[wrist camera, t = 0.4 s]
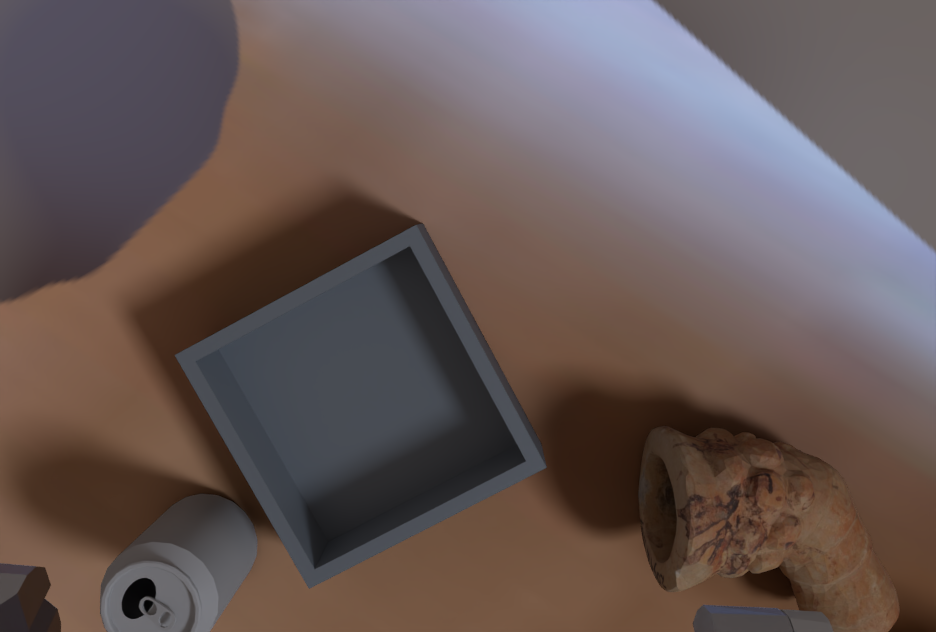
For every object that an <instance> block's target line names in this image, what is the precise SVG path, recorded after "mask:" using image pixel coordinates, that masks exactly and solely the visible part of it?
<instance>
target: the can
mask: <svg viewBox="0 0 936 632" xmlns="http://www.w3.org/2000/svg"><path fill="white" fill-rule="evenodd" d="M256 556H257V537H256V533H255V529H254V525H253V524H252V522H251V521H250V519H249V517H248V516H247V514H246V513H245V511H243V510H242V509H241V508H240V507H239V506H237V505H236V504H235V503H234V502H233V501H230V500H228V499H226V498H223V497H221V496H218V495H211V494H197V495H193V496H188V497H185V498H183V499H182V500H180V501H178V502H177V503H175V504H173V505H172V506H171V507H170V508H169V509H168V510H167V511H166V512H164V513H163V514H162V515H161V516H160V517H159V518H158V519H157V520H156V521H155V522H154V523H153V524H152V525H150V526H149V527H148V528H147V529H146V530H145V531H144V532H143V533H142V534H141V535H140V536H139V537H138V538H137V539H135V540H134V541H133V542H132V543H131V544H130V545H129V546H128V547H127V548H126V549H125V550H124V551H123V552H122V553H120V554H119V555H118V557H117V558H116V559H115V560H114V561H113V562H112V564H111V565H110V566H109V567H108V568H107V571H106V573H105V576H104V578H103V581H102V584H101V597H100V614H101V617H102V621H103V624H104V628H105V629H106V631H107V632H210V630H211V629H212V627H213V626H214V624H215V623H216V621H217V620H218V618H219V617H220V615H221V614H222V612H223V611H224V609H225V608H226V606H227V605H228V603H229V602H230V600H231V599H232V597H233V596H234V594H235V593H236V591H237V590H238V588H239V587H240V585H241V584H242V582H243V581H244V579H245V578H246V576H247V575H248V573H249V572H250V570H251V568H252V565H253V563H254V560H255V558H256Z"/></svg>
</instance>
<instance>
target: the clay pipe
mask: <svg viewBox="0 0 936 632" xmlns="http://www.w3.org/2000/svg"><path fill="white" fill-rule="evenodd" d="M638 498H639V513H640V522H641V531H642V538H643V542H644V547H645V550H646V554H647V558H648V562H649V564H650V567H651V569H652V571H653V574H654V576H655V578H656V580H657V581H658V583H659V585H660V586H661V587H662V588H663V589H664V590H666V591H668V592H677V591H683V590H686V589H688V588H690V587H693V586H695V585H697V584H699V583H701V582H703V581H705V580H707V579H708V578H710V577H712V576H713V575H715V574H718V575H720V576H721V577H728V578H735V577H739V576H743V575H744V574H745V573H746V572H748V571H751V572H752V573H762V572H765V571H769V570H772V569H774V568H777V567H778V566H779V568H780V570H781V571H782V573H783V574H784V575H785V576H786V577H787V578H789V579H790V582H791V586H792V589H793V593H794V596H795V598H796V601H797V605H798V608H799V611H816V612H822V613H823V614H824V615H825V616H826V617H827V618H828V619H829V621H830V624H831V626H832V629H833V631H834V632H888V631H889V630H890V629H891V628H892V626H893V625H894V624H895V622H896V621H897V619H898V617H899V612H900V609H899V601H898V597H897V592H896V590H895V587H894V585H893V583H892V581H891V579H890V577H889V575H888V573H887V571H886V569H885V568H884V566H883V564H882V563H881V561H880V560H879V558H878V557H877V555H876V553H875V552H874V550H873V549H872V545H873V544H872V540H871V537H870V534H869V533H868V531H867V530H866V528H865V526H864V524H863V522H862V520H861V518H860V516H859V514H858V511H857V509H856V507H855V504H854V502H853V499H852V497H851V494H850V492H849V489H848V487H847V485H846V483H845V481H844V479H843V477H842V476H841V475H840V474H839V473H838V471H837V470H836V469H834V468H833V467H832V466H830V465H829V464H827V463H826V462H824V461H822V460H821V459H819V458H817V457H814V456H811V455H808V454H805V453H803V452H801V451H800V450H798V449H796V448H794V447H793V446H791V445H788V444H786V443H783V442H774V443H772V442H771V441H768V440H765V439H761V438H758V439H756V437H755V435H753V434H751V433H749V432H741V433H739V434H737V435H735V436H733V435H732V434H731V433H730V432H729V431H727V430H725V429H723V428H714V427H712V428H708V429H706V430H705V431H703V432H702V433H700V434H699V435H697V436H696V437H692V436H689V435H686V434H684V433H682V432H679V431H677V430H675V429H672V428H670V427H668V426H661V427H657V428H654V429H652V430H651V431H650V433H649V435H648V437H647V439H646V442H645V445H644V450H643V455H642V461H641V469H640V479H639V492H638Z"/></svg>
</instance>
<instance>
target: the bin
mask: <svg viewBox="0 0 936 632" xmlns="http://www.w3.org/2000/svg"><path fill="white" fill-rule="evenodd" d="M175 357H176V358H177V360H178V362H179V364H180V365H181V367H182V369H183V371H184V372H185V374H186V376H187V378H188V379H189V381H190V383H191V385H192V386H193V388H194V390H195V391H196V393H197V395H198V397H199V398H200V400H201V402H202V404H203V405H204V407H205V409H206V411H207V412H208V414H209V416H210V418H211V419H212V421H213V423H214V424H215V426H216V428H217V430H218V431H219V433H220V435H221V437H222V438H223V440H224V442H225V444H226V445H227V447H228V449H229V451H230V452H231V454H232V456H233V457H234V459H235V461H236V463H237V464H238V466H239V468H240V470H241V471H242V473H243V475H244V477H245V478H246V480H247V482H248V484H249V485H250V487H251V489H252V490H253V492H254V494H255V496H256V497H257V499H258V501H259V503H260V504H261V506H262V508H263V510H264V511H265V513H266V515H267V517H268V518H269V520H270V522H271V523H272V525H273V527H274V529H275V530H276V532H277V534H278V536H279V537H280V539H281V541H282V543H283V544H284V546H285V548H286V550H287V551H288V553H289V555H290V556H291V558H292V560H293V562H294V563H295V565H296V567H297V569H298V570H299V572H300V574H301V576H302V577H303V579H304V581H305V583H306V584H307V586H308V588H311V587H313V586H315V585H317V584H319V583H321V582H323V581H325V580H327V579H329V578H331V577H333V576H335V575H337V574H339V573H341V572H343V571H345V570H347V569H349V568H351V567H353V566H355V565H356V564H358V563H360V562H362V561H364V560H366V559H368V558H370V557H372V556H374V555H376V554H378V553H380V552H382V551H384V550H386V549H388V548H390V547H392V546H394V545H396V544H398V543H400V542H402V541H404V540H406V539H407V538H409V537H411V536H413V535H415V534H417V533H419V532H421V531H423V530H425V529H427V528H429V527H431V526H433V525H435V524H437V523H439V522H441V521H443V520H445V519H447V518H449V517H451V516H453V515H455V514H457V513H458V512H460V511H462V510H464V509H466V508H468V507H470V506H472V505H474V504H476V503H478V502H480V501H482V500H484V499H486V498H488V497H490V496H492V495H494V494H496V493H498V492H500V491H502V490H504V489H506V488H507V487H509V486H511V485H513V484H515V483H517V482H519V481H521V480H523V479H525V478H527V477H529V476H531V475H533V474H535V473H537V472H539V471H541V470H543V469H545V468H547V467H546V462H545V458H544V454H543V449H542V445H541V442H540V440H539V439H538V437H537V435H536V433H535V431H534V429H533V427H532V426H531V424H530V422H529V420H528V418H527V416H526V414H525V412H524V411H523V409H522V407H521V405H520V403H519V401H518V399H517V398H516V396H515V394H514V392H513V390H512V388H511V386H510V385H509V383H508V381H507V379H506V377H505V375H504V373H503V371H502V370H501V368H500V366H499V364H498V362H497V360H496V358H495V357H494V355H493V353H492V351H491V349H490V347H489V345H488V344H487V342H486V340H485V338H484V336H483V334H482V332H481V331H480V329H479V327H478V325H477V323H476V321H475V319H474V317H473V316H472V314H471V312H470V310H469V308H468V306H467V304H466V303H465V301H464V299H463V297H462V295H461V293H460V291H459V290H458V288H457V286H456V284H455V282H454V280H453V278H452V277H451V275H450V273H449V271H448V269H447V267H446V265H445V263H444V262H443V260H442V258H441V256H440V254H439V252H438V250H437V249H436V247H435V245H434V243H433V241H432V239H431V237H430V236H429V234H428V232H427V230H426V228H425V226H424V224H418V225H415V226H413V227H411V228H409V229H407V230H406V231H404V232H402V233H400V234H398V235H396V236H394V237H393V238H391V239H389V240H387V241H385V242H383V243H381V244H380V245H378V246H376V247H374V248H372V249H370V250H368V251H367V252H365V253H363V254H361V255H359V256H357V257H356V258H354V259H352V260H350V261H348V262H346V263H344V264H343V265H341V266H339V267H337V268H335V269H333V270H331V271H330V272H328V273H326V274H324V275H322V276H320V277H318V278H317V279H315V280H313V281H311V282H309V283H307V284H306V285H304V286H302V287H300V288H298V289H296V290H294V291H293V292H291V293H289V294H287V295H285V296H283V297H281V298H280V299H278V300H276V301H274V302H272V303H270V304H268V305H267V306H265V307H263V308H261V309H259V310H257V311H256V312H254V313H252V314H250V315H248V316H246V317H244V318H243V319H241V320H239V321H237V322H235V323H233V324H231V325H230V326H228V327H226V328H224V329H222V330H220V331H218V332H217V333H215V334H213V335H211V336H209V337H207V338H206V339H204V340H202V341H200V342H198V343H196V344H194V345H193V346H191V347H189V348H187V349H185V350H183V351H181V352H180V353H178V354H176V355H175Z"/></svg>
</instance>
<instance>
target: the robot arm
mask: <svg viewBox="0 0 936 632" xmlns="http://www.w3.org/2000/svg"><path fill="white" fill-rule="evenodd" d="M50 586H51V584H50V581H49V578H48V575H47V572H46V569H45V567H36V566H24V565H13V564H1V563H0V632H61V621H60V617H59V613H58V609H57V608H56V607H54V606H53V605H52V604H51V603H49V602H48V601H47V600H46V599H44V598H45V596H46V594H47V592H48V590H49V588H50ZM693 627H694V631H695V632H834V631H833V629H832V626H831V624H830V621H829V619H828V618H827V617H826V616H825V615H824V614H823V613H822V612H816V611H799V610H779V609H778V608H759V607H737V606H715V605H703V606H701V607H700V608H699V609H698V610H697V613H696V616H695V618H694V621H693Z"/></svg>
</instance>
